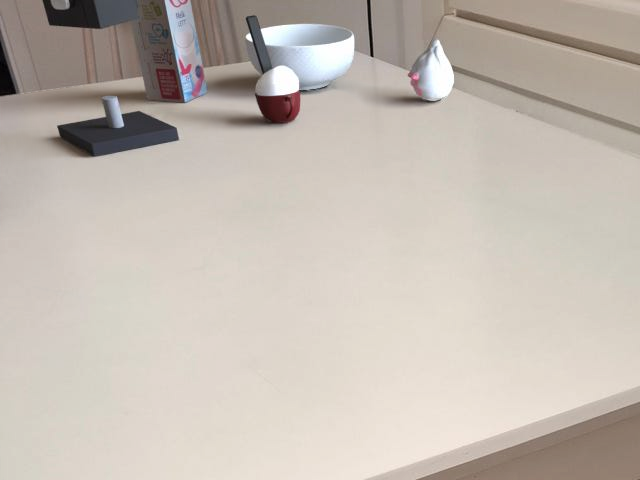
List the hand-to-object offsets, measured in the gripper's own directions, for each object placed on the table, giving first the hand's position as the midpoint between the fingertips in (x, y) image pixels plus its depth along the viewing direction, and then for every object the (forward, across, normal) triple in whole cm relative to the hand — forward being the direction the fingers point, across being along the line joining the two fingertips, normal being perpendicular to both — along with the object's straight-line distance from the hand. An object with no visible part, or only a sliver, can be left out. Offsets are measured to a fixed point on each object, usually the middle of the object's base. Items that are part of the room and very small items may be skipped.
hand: (90, 2), depth 92 cm
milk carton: (+19, -44, -25) cm, 54 cm away
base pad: (+19, -21, -19) cm, 34 cm away
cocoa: (+19, -37, -3) cm, 42 cm away
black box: (+2, 0, 0) cm, 2 cm away
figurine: (+19, -54, +14) cm, 59 cm away
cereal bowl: (+19, -57, -10) cm, 61 cm away
